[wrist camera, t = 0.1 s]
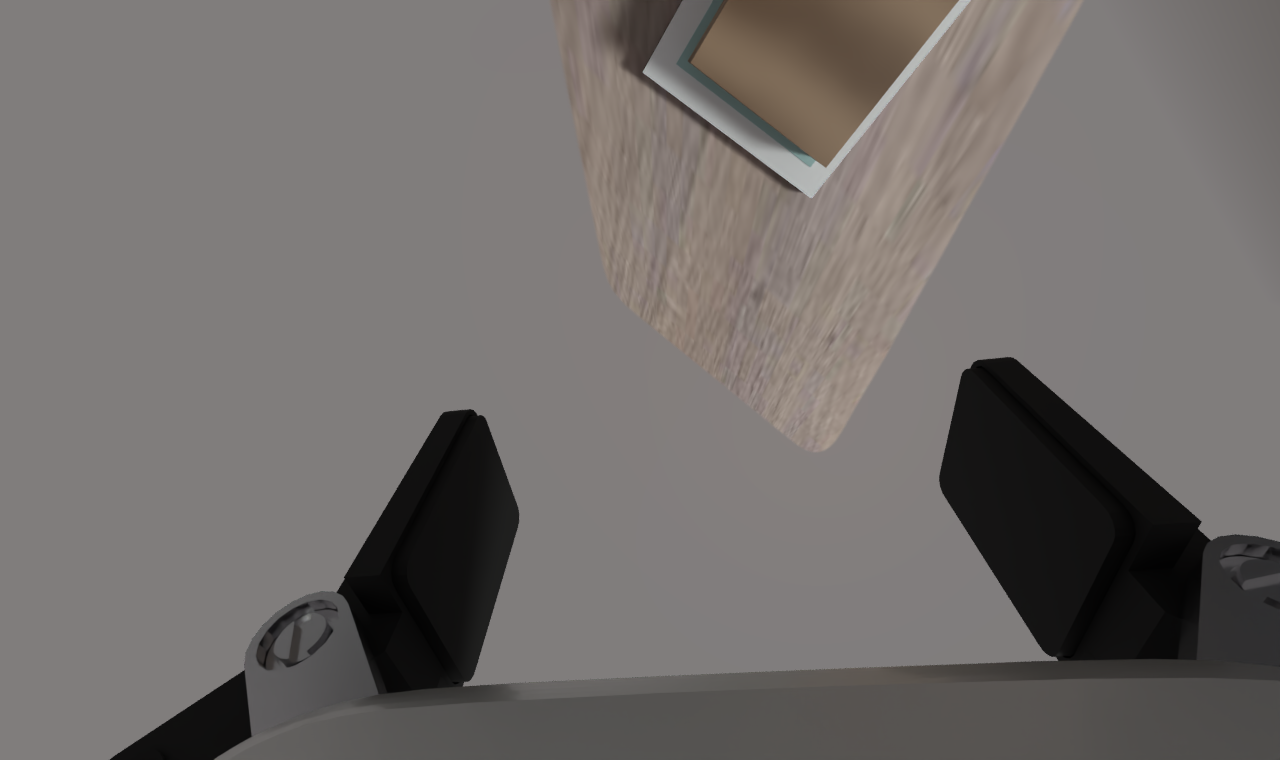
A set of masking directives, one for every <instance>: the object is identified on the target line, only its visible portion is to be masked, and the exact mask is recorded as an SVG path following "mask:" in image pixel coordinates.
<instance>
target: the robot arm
mask: <svg viewBox="0 0 1280 760" xmlns="http://www.w3.org/2000/svg"><path fill="white" fill-rule="evenodd" d="M939 481H940V487H941V490H942V492H943V494H944V496H945V498H946V499H947V501H948V502H949V504H950V506H951V507H952V509H953V510H954V512H955V513H956V515H957V517H958V518H959V520H960V521H961V523H962V524H963V526H964V527H965V529H966V531H967V532H968V534H969V535H970V537H971V539H972V540H973V542H974V543H975V545H976V546H977V548H978V550H979V551H980V553H981V554H982V556H983V558H984V559H985V561H986V562H987V564H988V565H989V567H990V569H991V570H992V572H993V573H994V575H995V576H996V578H997V579H998V581H999V583H1000V584H1001V586H1002V587H1003V589H1004V590H1005V592H1006V594H1007V595H1008V597H1009V598H1010V600H1011V601H1012V603H1013V605H1014V606H1015V608H1016V610H1017V611H1018V613H1019V614H1020V616H1021V617H1022V619H1023V621H1024V622H1025V623H1026V625H1027V627H1028V628H1029V630H1030V632H1031V633H1032V635H1033V636H1034V638H1035V639H1036V641H1037V643H1038V644H1039V645H1040V647H1041V648H1042V650H1043V651H1044V652H1045V653H1046V654H1048V655H1049V656H1051V657H1057V659H1058V661H1032V662H1006V663H978V664H953V665H925V666H898V667H869V668H845V669H822V670H821V669H820V670H796V671H772V672H748V673H725V674H701V675H679V676H656V677H635V678H615V679H592V680H571V681H552V682H529V683H511V684H496V685H480V686H465V687H463V683H464V682H468V681H470V680H471V678H472V677H473V675H474V672H475V669H476V666H477V663H478V659H479V656H480V652H481V649H482V646H483V642H484V639H485V636H486V632H487V629H488V626H489V622H490V619H491V615H492V612H493V609H494V605H495V602H496V598H497V595H498V592H499V589H500V585H501V582H502V579H503V575H504V572H505V568H506V565H507V562H508V558H509V555H510V552H511V548H512V545H513V542H514V538H515V535H516V531H517V528H518V524H519V510H518V506H517V503H516V501H515V498H514V496H513V492H512V490H511V487H510V485H509V482H508V479H507V476H506V473H505V470H504V468H503V465H502V462H501V459H500V457H499V454H498V452H497V448H496V446H495V443H494V440H493V438H492V435H491V432H490V429H489V427H488V424H487V421H486V419H485V418H484V416H482V415H479V416H477V414H476V412H475V411H474V410H471V409H469V410H458V411H449V412H444V413H443V414H442V415H441V416H440V418H439V419H438V421H437V423H436V424H435V426H434V428H433V429H432V431H431V433H430V434H429V436H428V438H427V439H426V441H425V443H424V444H423V446H422V448H421V449H420V451H419V453H418V455H417V456H416V458H415V459H414V461H413V463H412V464H411V466H410V468H409V469H408V471H407V473H406V475H405V476H404V478H403V480H402V481H401V483H400V485H399V486H398V488H397V490H396V491H395V493H394V495H393V496H392V498H391V500H390V501H389V503H388V505H387V506H386V508H385V510H384V511H383V513H382V515H381V516H380V518H379V520H378V521H377V523H376V525H375V527H374V528H373V530H372V531H371V533H370V535H369V537H368V538H367V540H366V541H365V543H364V545H363V547H362V548H361V550H360V552H359V553H358V555H357V557H356V558H355V560H354V562H353V563H352V565H351V567H350V568H349V570H348V572H347V573H346V575H345V577H344V578H345V580H344V581H343V583H342V584H341V586H340V588H339V590H338V591H337V593H335V592H325V591H321V592H317V593H313V594H309V595H306V596H304V597H302V598H300V599H298V600H295V601H293V602H291V603H290V604H288V605H287V606H285V607H284V608H282V609H281V610H279V611H278V612H277V613H275V614H274V615H273V616H272V617H271V618H270V619H269V620H268V621H267V622H266V623H264V624H263V626H262V627H261V628H260V629H259V631H258V632H257V633H256V635H255V636H254V637H253V639H252V641H251V643H250V645H249V647H248V649H247V651H246V655H245V664H244V668H245V670H244V671H242V672H241V673H240V674H238V675H236V676H235V677H234V678H232V679H231V680H229V681H228V682H226V683H224V684H223V685H221V686H220V687H218V688H217V689H215V690H214V691H212V692H211V693H209V694H208V695H206V696H205V697H203V698H202V699H200V700H198V701H197V702H195V703H194V704H192V705H191V706H189V707H188V708H186V709H185V710H183V711H182V712H180V713H179V714H177V715H176V716H174V717H173V718H171V719H170V720H168V721H167V722H165V723H164V724H162V725H161V726H159V727H158V728H156V729H155V730H153V731H151V732H150V733H148V734H147V735H145V736H144V737H142V738H141V739H139V740H138V741H136V742H135V743H133V744H132V745H130V746H129V747H127V748H126V749H124V750H123V751H121V752H120V753H118V754H117V755H115V756H114V757H113V758H111V759H110V760H1280V542H1278V541H1274V540H1270V539H1266V538H1261V537H1258V536H1247V535H1236V534H1235V535H1227V536H1220V537H1217V538H1215V539H1213V540H1212V541H1211V540H1210V539H1208V538H1207V537H1206V536H1205V535H1204V534H1203V533H1202V532H1200V530H1198V527H1199V525H1200V524H1201V521H1200V520H1199V519H1198V518H1197V517H1196V516H1195V515H1193V514H1192V513H1191V512H1190V511H1189V510H1188V509H1187V508H1185V507H1184V506H1183V505H1182V504H1181V503H1180V502H1179V501H1177V500H1176V499H1175V498H1174V497H1173V496H1172V495H1170V494H1169V493H1168V492H1167V491H1166V490H1165V489H1164V488H1163V487H1161V486H1160V485H1159V484H1158V483H1157V482H1156V481H1155V480H1153V479H1152V478H1151V477H1150V476H1149V475H1148V474H1147V473H1145V472H1144V471H1143V470H1142V469H1141V468H1140V467H1138V466H1137V465H1136V464H1135V463H1134V462H1133V461H1132V460H1130V459H1129V458H1128V457H1127V456H1126V455H1125V454H1123V453H1122V452H1121V451H1120V450H1119V449H1118V448H1117V447H1115V446H1114V445H1113V444H1112V443H1111V442H1110V441H1109V440H1107V439H1106V438H1105V437H1104V436H1103V435H1102V434H1101V433H1100V432H1098V431H1097V430H1096V429H1095V428H1094V427H1093V426H1092V425H1090V424H1089V423H1088V422H1087V421H1086V420H1085V419H1083V418H1082V417H1081V416H1080V415H1079V414H1078V413H1077V412H1076V411H1074V410H1073V409H1072V408H1071V407H1070V406H1069V405H1068V404H1066V403H1065V402H1064V401H1063V400H1062V399H1061V398H1059V397H1058V396H1057V395H1056V394H1055V393H1054V392H1053V391H1051V390H1050V389H1049V388H1048V387H1047V386H1046V385H1045V384H1043V383H1042V382H1041V381H1040V380H1039V379H1038V378H1037V377H1036V376H1034V375H1033V374H1032V373H1031V372H1030V371H1029V370H1028V369H1026V368H1025V367H1024V366H1023V365H1022V364H1020V363H1019V362H1018V361H1017V360H1016V359H1014V358H1011V357H1005V358H996V359H986V360H977V361H975V362H974V363H973V364H972V366H971V369H966V370H965V371H964V372H963V373H962V376H961V380H960V384H959V389H958V394H957V398H956V403H955V407H954V412H953V416H952V421H951V425H950V430H949V434H948V439H947V444H946V448H945V453H944V457H943V462H942V466H941V471H940V476H939Z"/></svg>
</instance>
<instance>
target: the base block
mask: <svg viewBox="0 0 1280 760" xmlns="http://www.w3.org/2000/svg"><path fill="white" fill-rule="evenodd" d="M958 1H959V0H723V2H722V4H721V5H720V7H719V9H718V10H717V12H716V14H715V15H714V17H713V19H712V20H711V22H710V24H709V26H708V27H707V29H706V31H705V32H704V34H703V36H702V37H701V39H700V41H699V42H698V44H697V46H696V47H695V49H694V51H693V53H692V54H691V56H690V58H689V59H688V62H689V63H690V64H692V65H693V66H694V67H695V68H697V69H698V70H699V71H701V72H702V73H703V74H704V75H706V76H707V77H708V78H710V79H711V80H712V81H713V82H715V83H716V84H717V85H719V86H720V87H721V88H722V89H724V90H725V91H726V92H728V93H729V94H730V95H732V96H733V97H734V98H735V99H737V100H738V101H739V102H741V103H742V104H743V105H744V106H746V107H747V108H748V109H750V110H751V111H752V112H753V113H755V114H756V115H757V116H759V117H760V118H761V119H762V120H764V121H765V122H766V123H768V124H769V125H770V126H772V127H773V128H774V129H775V130H777V131H778V132H779V133H781V134H782V135H783V136H784V137H786V138H787V139H788V140H790V141H791V142H792V143H793V144H795V145H796V146H797V147H799V148H800V149H801V150H802V151H804V152H805V153H806V154H808V155H809V156H810V157H812V158H813V159H814V160H816V161H817V162H818V163H820V164H821V165H823V166H824V167H825V168H826V167H827V166H828V165H829V164H830V162H831V161H832V160H833V158H834V157H835V156H836V155H837V153H838V152H839V151H840V150H841V148H842V147H843V146H844V145H845V143H846V142H847V141H848V140H849V138H850V137H851V136H852V135H853V133H854V132H855V131H856V129H857V128H858V127H859V126H860V124H861V123H862V122H863V121H864V119H865V118H866V117H867V116H868V114H869V113H870V112H871V111H872V109H873V108H874V107H875V106H876V104H877V103H878V102H879V100H880V99H881V98H882V97H883V95H884V94H885V93H886V92H887V90H888V89H889V88H890V87H891V85H892V84H893V83H894V82H895V80H896V79H897V78H898V77H899V75H900V74H901V73H902V72H903V70H904V69H905V68H906V66H907V65H908V64H909V63H910V61H911V60H912V59H913V58H914V56H915V55H916V54H917V53H918V51H919V50H920V49H921V48H922V46H923V45H924V44H925V43H926V41H927V40H928V39H929V37H930V36H931V35H932V34H933V32H934V31H935V30H936V29H937V27H938V26H939V25H940V24H941V22H942V21H943V20H944V19H945V17H946V16H947V15H948V14H949V12H950V11H951V10H952V8H953V7H954V6H955V5H956V3H957V2H958Z"/></svg>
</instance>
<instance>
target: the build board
mask: <svg viewBox="0 0 1280 760" xmlns="http://www.w3.org/2000/svg"><path fill="white" fill-rule="evenodd" d="M970 1H971V0H959V1H958V2H957V3H956V5H955V6H954V7H953V8H952V10H951V11H950V12H949V14H948V15H947V16H946V17H945V19H944V20H943V21H942V22H941V24H940V25H939V26H938V27H937V29H936V30H935V31H934V32H933V34H932V35H931V36H930V37H929V39H928V40H927V41H926V43H925V44H924V45H923V46H922V48H921V49H920V50H919V51H918V53H917V54H916V55H915V56H914V58H913V59H912V60H911V61H910V63H909V64H908V65H907V66H906V68H905V69H904V70H903V72H902V73H901V74H900V75H899V77H898V78H897V79H896V80H895V82H894V83H893V84H892V85H891V87H890V88H889V89H888V90H887V92H886V93H885V94H884V95H883V97H882V98H881V99H880V100H879V102H878V103H877V104H876V106H875V107H874V108H873V109H872V111H871V112H870V113H869V114H868V116H867V117H866V118H865V119H864V121H863V122H862V123H861V124H860V126H859V127H858V128H857V129H856V131H855V132H854V133H853V135H852V136H851V137H850V138H849V140H848V141H847V142H846V143H845V145H844V146H843V147H842V148H841V150H840V151H839V152H838V153H837V155H836V156H835V157H834V158H833V160H832V161H831V162H830V164H829V165H828V166H827V167H826V168H825V167H824V166H823V165H821V164H820V163H818V162H817V161H816V160H814V159H813V158H812V157H810V156H809V155H808V154H806V153H805V152H804V151H802V150H801V149H800V148H799V147H797V146H796V145H795V144H793V143H792V142H791V141H790V140H788V139H787V138H786V137H784V136H783V135H782V134H781V133H779V132H778V131H777V130H775V129H774V128H773V127H772V126H770V125H769V124H768V123H766V122H765V121H764V120H762V119H761V118H760V117H759V116H757V115H756V114H755V113H753V112H752V111H751V110H750V109H748V108H747V107H746V106H744V105H743V104H742V103H741V102H739V101H738V100H737V99H735V98H734V97H733V96H732V95H730V94H729V93H728V92H726V91H725V90H724V89H722V88H721V87H720V86H719V85H717V84H716V83H715V82H713V81H712V80H711V79H710V78H708V77H707V76H706V75H704V74H703V73H702V72H701V71H699V70H698V69H697V68H695V67H694V66H693V65H692V64H690V63H689V62H688V59H689V58H690V56H691V54H692V53H693V51H694V49H695V47H696V46H697V44H698V42H699V41H700V39H701V37H702V36H703V34H704V32H705V31H706V29H707V27H708V26H709V24H710V22H711V20H712V19H713V17H714V15H715V14H716V12H717V10H718V9H719V7H720V5H721V4H722V2H723V0H683V1H682V2H681V4H680V6H679V8H678V10H677V11H676V13H675V15H674V17H673V19H672V20H671V22H670V24H669V26H668V28H667V29H666V31H665V33H664V35H663V36H662V38H661V40H660V42H659V44H658V45H657V47H656V49H655V51H654V53H653V54H652V56H651V58H650V60H649V62H648V63H647V65H646V67H645V69H644V71H643V73H644V74H645V75H647V76H648V77H649V78H651V79H652V80H653V81H655V82H656V83H657V84H659V85H660V86H661V87H663V88H664V89H665V90H667V91H668V92H669V93H671V94H672V95H673V96H675V97H676V98H677V99H679V100H680V101H681V102H683V103H684V104H685V105H687V106H688V107H689V108H691V109H692V110H693V111H695V112H696V113H697V114H699V115H700V116H701V117H703V118H704V119H705V120H707V121H708V122H709V123H711V124H712V125H713V126H715V127H716V128H717V129H719V130H720V131H721V132H723V133H724V134H725V135H727V136H728V137H730V138H731V139H732V140H734V141H735V142H736V143H738V144H739V145H740V146H742V147H743V148H744V149H746V150H747V151H748V152H750V153H751V154H752V155H754V156H755V157H756V158H758V159H759V160H760V161H762V162H763V163H764V164H766V165H767V166H768V167H770V168H771V169H772V170H774V171H775V172H776V173H778V174H779V175H780V176H782V177H783V178H784V179H786V180H787V181H788V182H790V183H791V184H792V185H794V186H795V187H796V188H798V189H799V190H800V191H802V192H803V193H804V194H806V195H807V196H808V197H810V198H811V199H812V197H813V196H814V195H815V194H816V192H817V191H818V190H819V189H820V187H821V186H822V185H823V184H824V182H825V181H826V180H827V179H828V177H829V176H830V175H831V174H832V172H833V171H834V170H835V169H836V167H837V166H838V165H839V164H840V163H841V161H842V160H843V159H844V158H845V156H846V155H847V154H848V153H849V151H850V150H851V149H852V148H853V146H854V145H855V144H856V143H857V141H858V140H859V139H860V138H861V136H862V135H863V134H864V133H865V131H866V130H867V129H868V128H869V126H870V125H871V124H872V123H873V121H874V120H875V119H876V118H877V116H878V115H879V114H880V113H881V111H882V110H883V109H884V108H885V107H886V105H887V104H888V103H889V102H890V100H891V99H892V98H893V97H894V95H895V94H896V93H897V92H898V90H899V89H900V88H901V87H902V85H903V84H904V83H905V82H906V80H907V79H908V78H909V77H910V75H911V74H912V73H913V72H914V70H915V69H916V68H917V67H918V65H919V64H920V63H921V62H922V60H923V59H924V58H925V57H926V55H927V54H928V53H929V52H930V50H931V49H932V48H933V47H934V46H935V44H936V43H937V42H938V41H939V39H940V38H941V37H942V36H943V34H944V33H945V32H946V31H947V29H948V28H949V27H950V26H951V24H952V23H953V22H954V21H955V19H956V18H957V17H958V16H959V14H960V13H961V12H962V11H963V9H964V8H965V7H966V6H967V4H968V3H969V2H970Z"/></svg>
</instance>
